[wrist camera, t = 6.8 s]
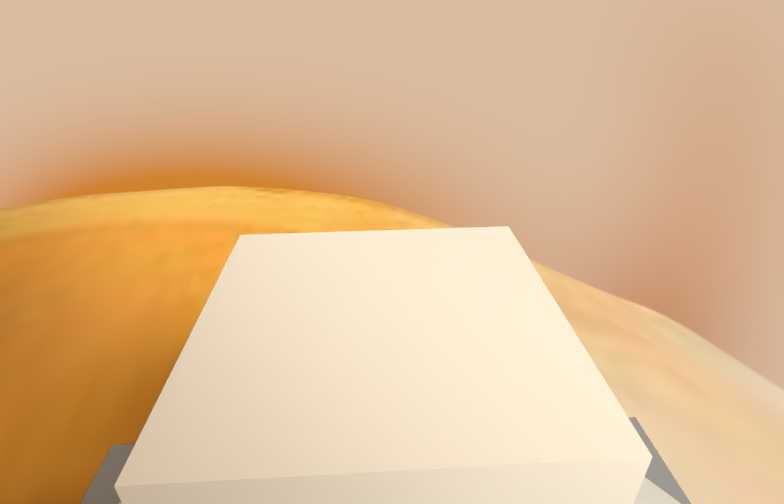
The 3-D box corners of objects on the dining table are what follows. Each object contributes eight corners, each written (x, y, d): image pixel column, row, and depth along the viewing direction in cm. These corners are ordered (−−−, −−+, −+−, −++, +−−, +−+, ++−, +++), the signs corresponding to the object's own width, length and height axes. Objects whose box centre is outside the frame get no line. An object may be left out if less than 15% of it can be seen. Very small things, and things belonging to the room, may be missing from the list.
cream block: (254, 780, 10) (114, 485, 5) (291, 508, 15) (240, 234, 10) (531, 757, 10) (653, 456, 5) (474, 497, 15) (508, 226, 11)
